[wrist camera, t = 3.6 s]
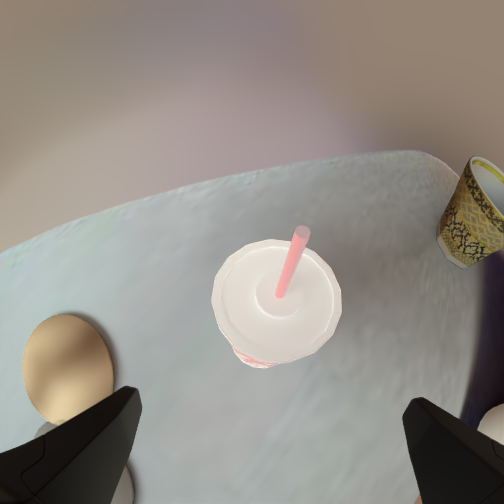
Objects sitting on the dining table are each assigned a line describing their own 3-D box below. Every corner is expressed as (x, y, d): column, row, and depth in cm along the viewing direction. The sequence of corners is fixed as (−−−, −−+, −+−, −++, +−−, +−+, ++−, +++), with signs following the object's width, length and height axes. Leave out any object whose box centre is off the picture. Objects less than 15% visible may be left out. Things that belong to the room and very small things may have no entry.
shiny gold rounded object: (136, 364, 18) (133, 363, 18) (79, 451, 14) (75, 452, 13) (61, 296, 20) (58, 293, 20) (13, 373, 16) (9, 372, 15)
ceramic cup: (452, 293, 23) (514, 242, 14) (410, 217, 27) (454, 154, 19) (499, 263, 25) (544, 221, 16) (464, 204, 30) (500, 157, 21)
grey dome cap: (155, 476, 14) (153, 478, 13) (107, 539, 9) (104, 541, 9) (61, 396, 16) (57, 395, 15) (24, 463, 11) (20, 464, 11)
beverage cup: (268, 394, 18) (333, 381, 6) (204, 343, 20) (155, 240, 8) (316, 332, 20) (414, 227, 8) (255, 287, 22) (278, 142, 10)
